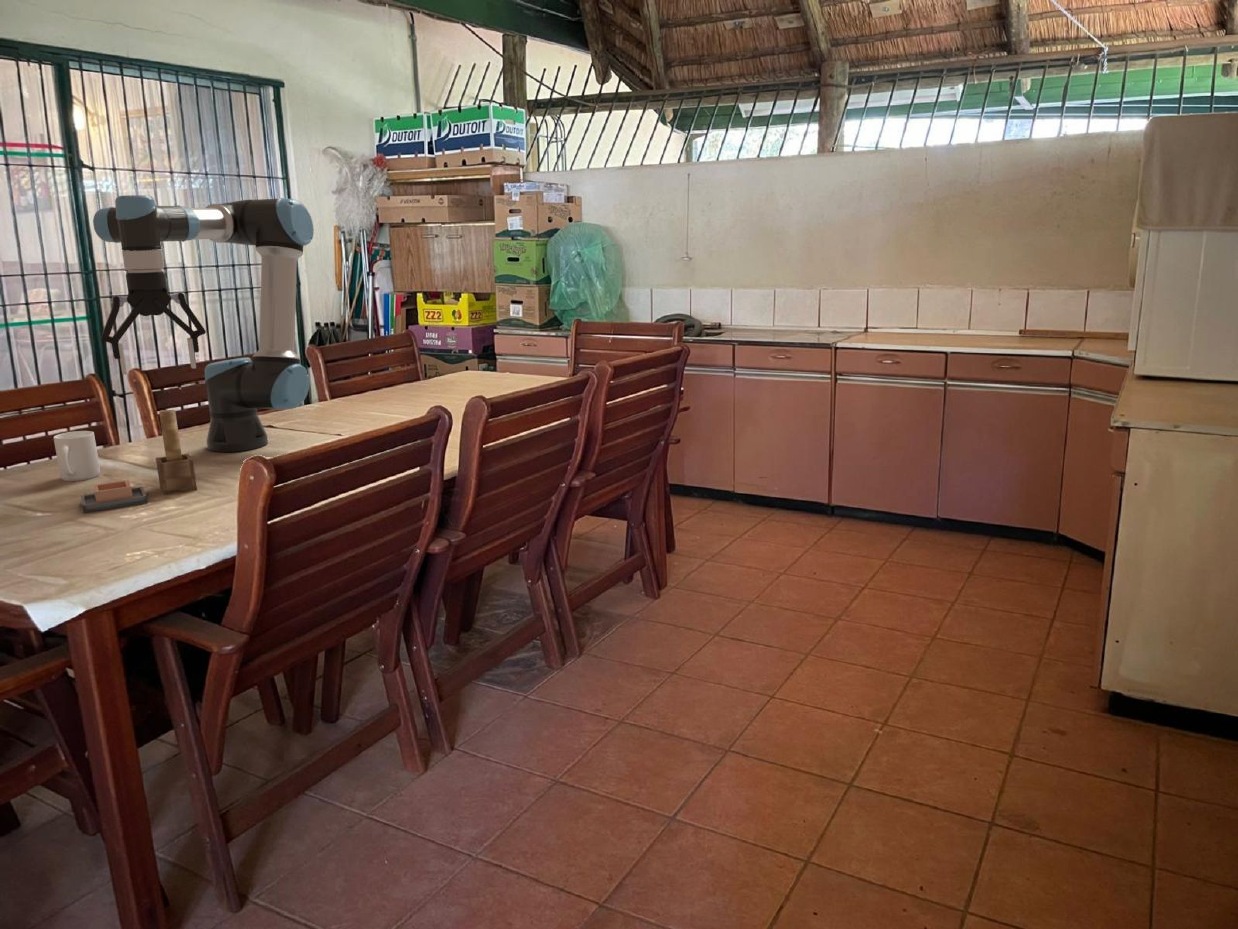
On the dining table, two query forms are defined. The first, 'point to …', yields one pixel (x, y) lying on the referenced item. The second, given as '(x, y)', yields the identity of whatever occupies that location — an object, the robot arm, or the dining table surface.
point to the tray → (92, 506)
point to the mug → (77, 455)
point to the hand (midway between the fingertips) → (159, 370)
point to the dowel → (170, 435)
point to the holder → (112, 491)
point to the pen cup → (176, 475)
